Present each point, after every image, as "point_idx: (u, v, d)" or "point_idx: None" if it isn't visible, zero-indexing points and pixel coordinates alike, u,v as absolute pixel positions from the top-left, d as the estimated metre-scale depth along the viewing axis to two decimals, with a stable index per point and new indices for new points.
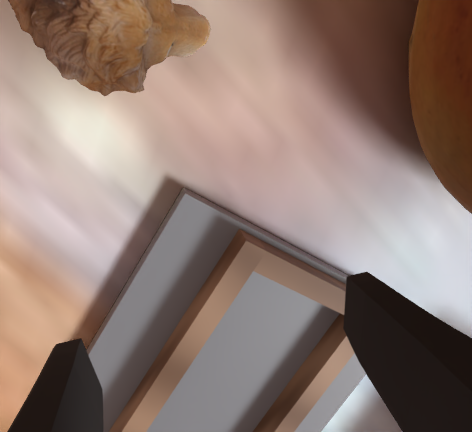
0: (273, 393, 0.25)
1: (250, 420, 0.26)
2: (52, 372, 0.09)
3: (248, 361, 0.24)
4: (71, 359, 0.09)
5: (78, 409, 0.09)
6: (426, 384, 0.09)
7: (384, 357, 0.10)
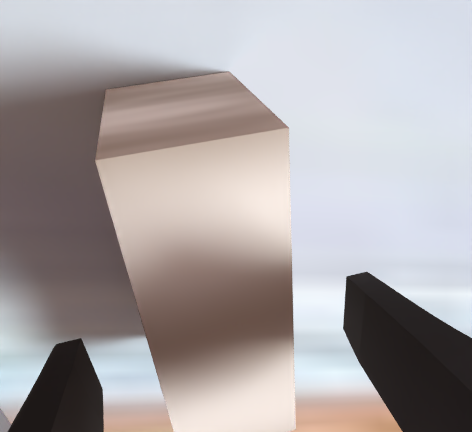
0: None
1: None
2: (52, 372, 0.09)
3: None
4: (71, 359, 0.09)
5: (78, 409, 0.09)
6: (426, 384, 0.09)
7: (384, 357, 0.10)
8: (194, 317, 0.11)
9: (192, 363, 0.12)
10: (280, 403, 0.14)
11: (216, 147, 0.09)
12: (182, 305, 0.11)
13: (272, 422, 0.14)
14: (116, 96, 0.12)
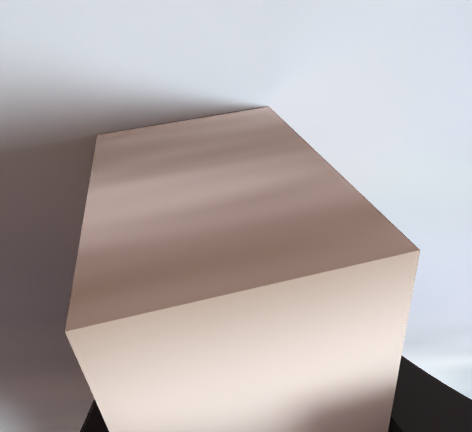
0: None
1: None
2: None
3: None
4: None
5: None
6: None
7: None
8: None
9: None
10: None
11: (291, 291, 0.05)
12: None
13: None
14: (111, 152, 0.08)
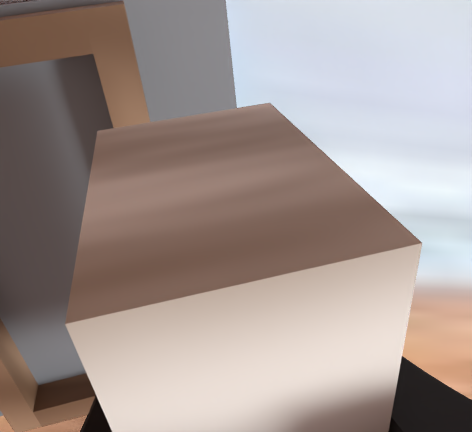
0: None
1: None
2: None
3: (52, 208, 0.16)
4: None
5: None
6: None
7: None
8: None
9: None
10: None
11: (293, 282, 0.05)
12: None
13: None
14: (111, 147, 0.08)
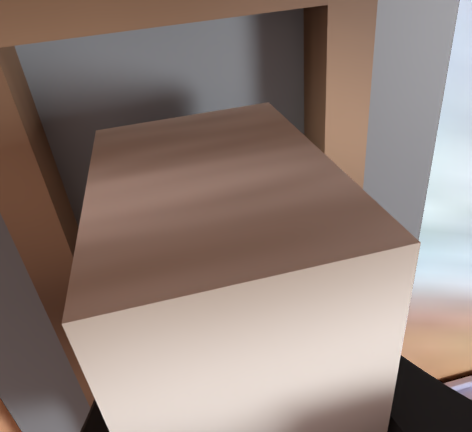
0: None
1: None
2: None
3: None
4: None
5: None
6: None
7: None
8: None
9: None
10: None
11: (290, 283, 0.05)
12: None
13: None
14: (109, 147, 0.08)
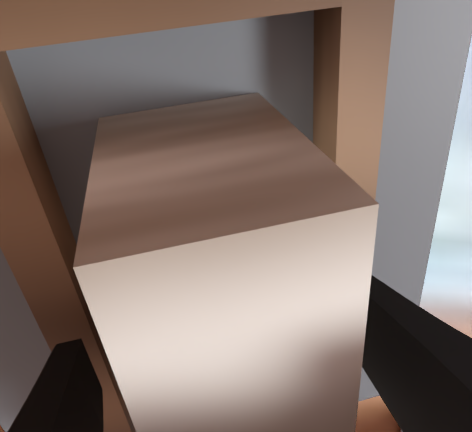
0: None
1: None
2: (52, 372, 0.09)
3: None
4: (71, 359, 0.09)
5: (78, 409, 0.09)
6: (426, 384, 0.09)
7: (384, 357, 0.10)
8: None
9: None
10: None
11: (267, 237, 0.05)
12: None
13: None
14: (112, 132, 0.09)
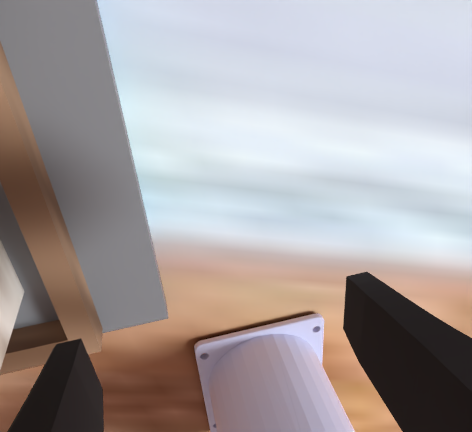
0: None
1: (15, 221, 0.17)
2: (52, 372, 0.09)
3: None
4: (71, 359, 0.09)
5: (78, 409, 0.09)
6: (426, 384, 0.09)
7: (384, 357, 0.10)
8: None
9: None
10: None
11: None
12: None
13: None
14: None
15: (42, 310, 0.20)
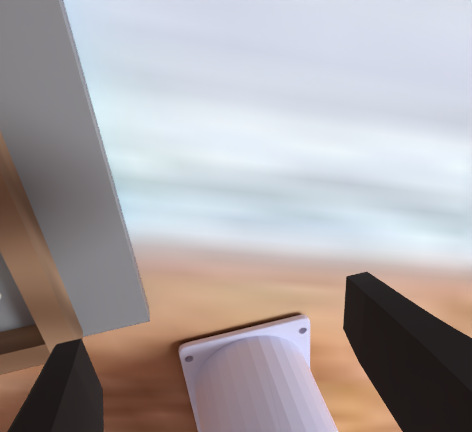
0: None
1: None
2: (52, 372, 0.09)
3: None
4: (71, 359, 0.09)
5: (78, 409, 0.09)
6: (426, 384, 0.09)
7: (384, 357, 0.10)
8: None
9: None
10: None
11: None
12: None
13: None
14: None
15: (20, 314, 0.20)
